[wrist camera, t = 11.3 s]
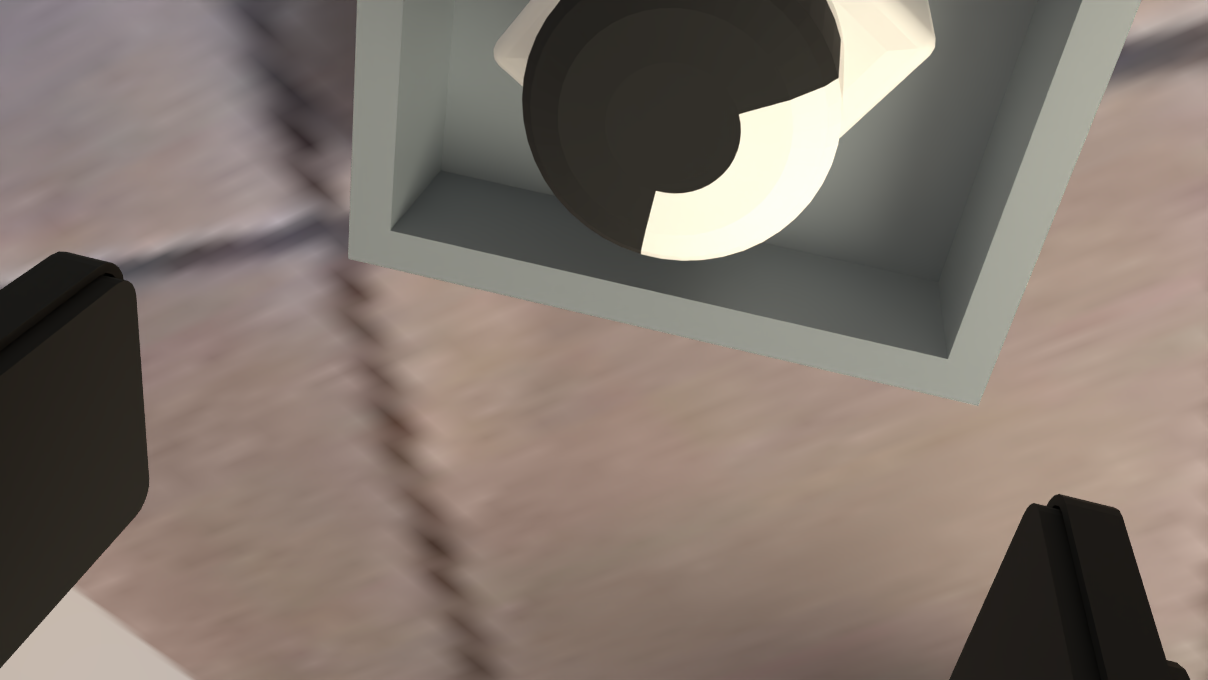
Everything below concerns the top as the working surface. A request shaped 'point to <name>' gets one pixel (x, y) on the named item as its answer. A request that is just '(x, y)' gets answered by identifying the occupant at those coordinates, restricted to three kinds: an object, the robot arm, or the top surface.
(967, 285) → the bin
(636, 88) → the medicine bottle
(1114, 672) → the robot arm
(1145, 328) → the top surface
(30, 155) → the top surface
